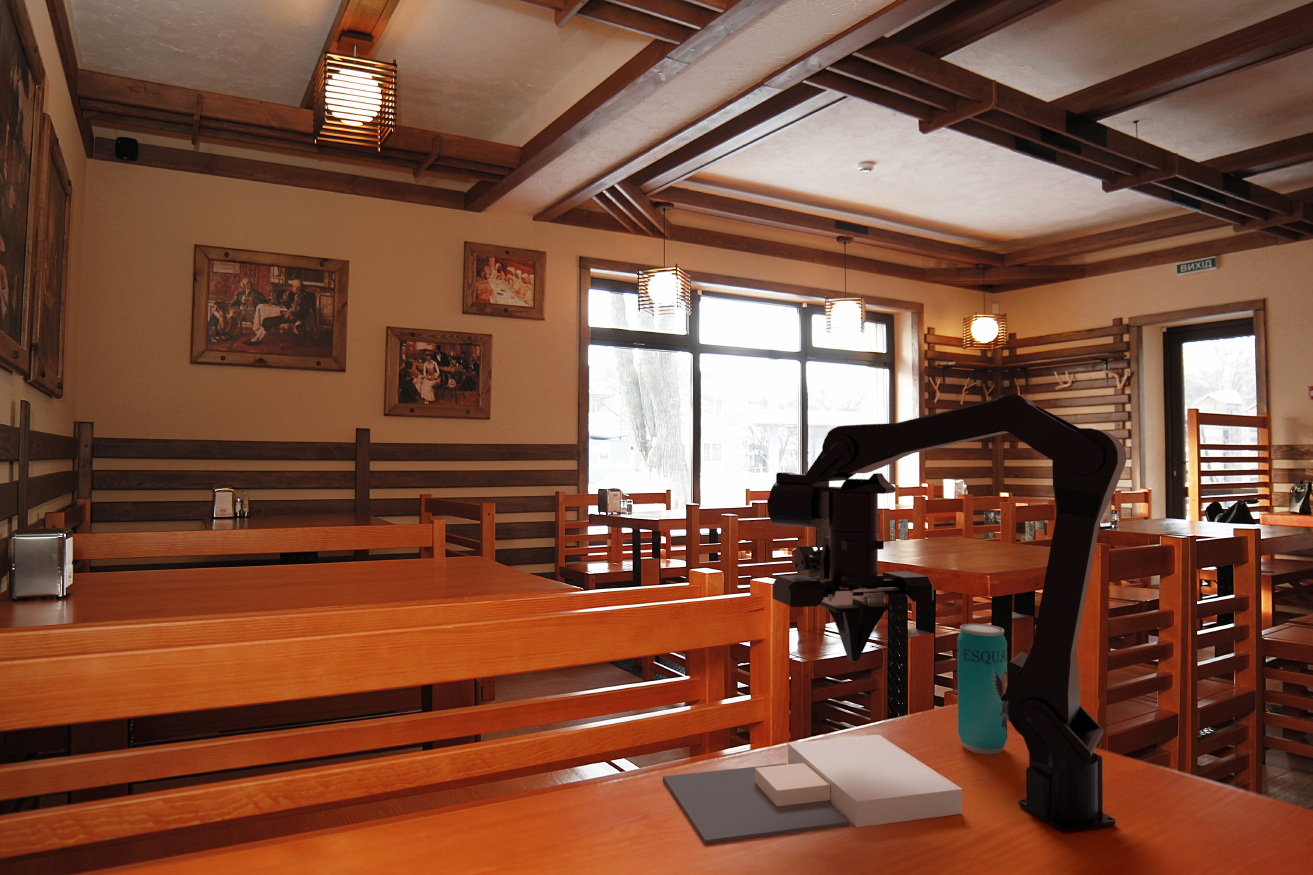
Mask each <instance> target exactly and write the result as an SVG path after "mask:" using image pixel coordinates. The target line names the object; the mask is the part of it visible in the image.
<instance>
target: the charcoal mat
mask: <svg viewBox="0 0 1313 875" xmlns="http://www.w3.org/2000/svg"><path fill="white" fill-rule="evenodd" d="M779 765H788V763H776V764H767V765H766V764H765V765H757V766H748V767H747V766H746V767H739V768H737V767H736V768H729V769H720V770H711V771H700V772H691V773H681V774H671V775H663V776H662V781H663V782H664V784H665V785H666V787H667V789H668V790H669V791H670V793H671V795H672V796H673V797H674V799H675V800H676V802H677V804H678V805H679V807H680V808H681V810H682V811H683V813H684V814H685V816H686V817H687V819H688V820H689V822H690V823H691V825H692V826H693V828H694V829H695V831H696V832H697V834H698V836H699V837H700V838H701V840H702V842H703V843H704V845H711V844H718V843H720V844H721V843H726V842H734V841H735V842H736V841H743V840H748V839H758V838H765V837H774V836H781V835H786V834H787V835H789V834H797V833H804V832H811V831H820V830H826V829H827V830H828V829H834V828H841V827H849V826H850V823H851V822H850V821H849V820H848V819H847V818H846V817H845V816H844V815H843V814H841V813H840V812H839V811H838V810H837V809H836V808H835V807H834V806H833V805H832V804H830V803H829V802H828V801H827V800H826V801H817V802H809V803H801V804H792V805H784V806H776V805H775V803H774V802H773V801H772V800H771V799H770V798H769V797H768V796H767V795H766V794H765V793H764V792H763V791H762V789H761V788H760V787H759V786H758V785H757V784H756V783H755V768H759V767H769V766H779Z"/></svg>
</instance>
